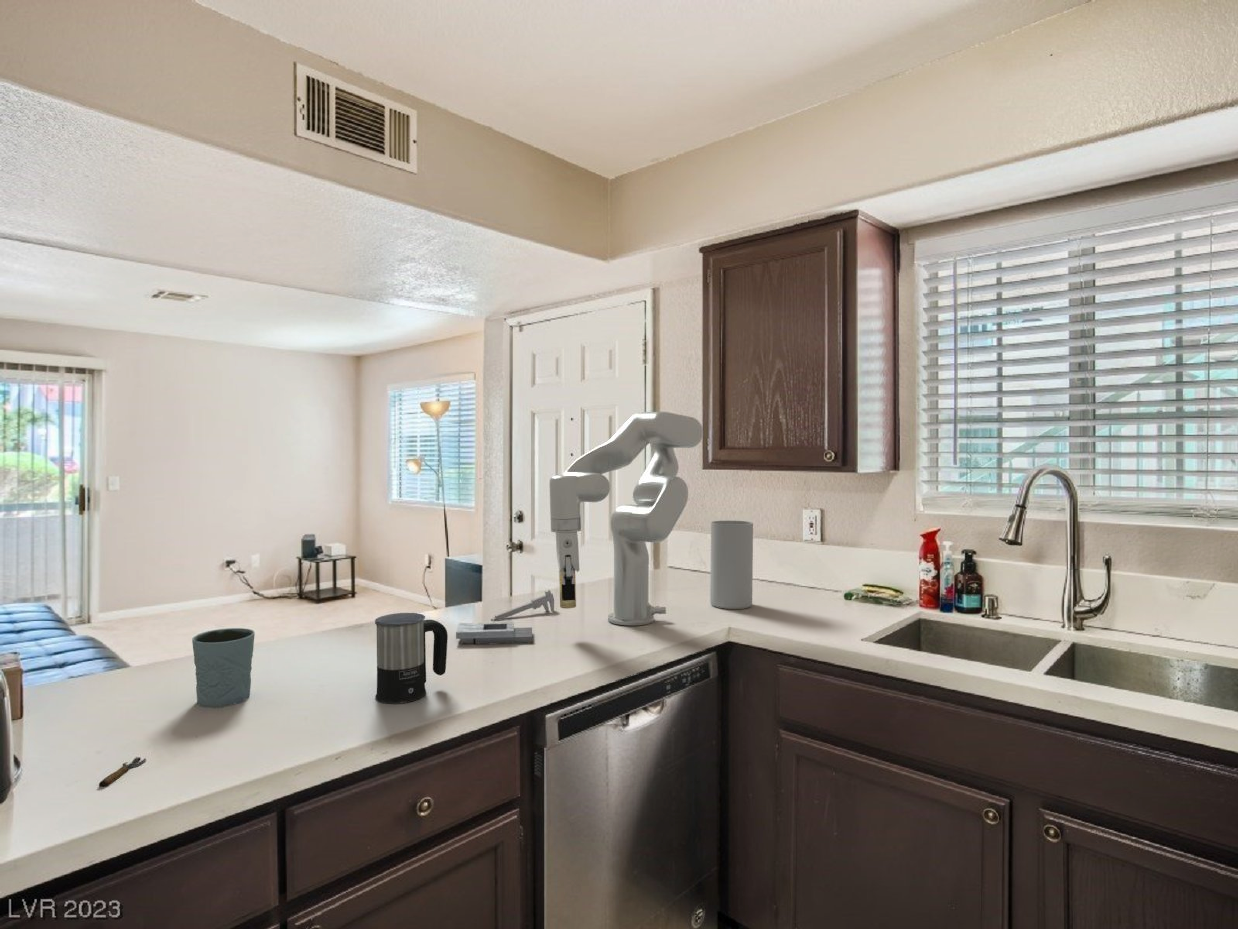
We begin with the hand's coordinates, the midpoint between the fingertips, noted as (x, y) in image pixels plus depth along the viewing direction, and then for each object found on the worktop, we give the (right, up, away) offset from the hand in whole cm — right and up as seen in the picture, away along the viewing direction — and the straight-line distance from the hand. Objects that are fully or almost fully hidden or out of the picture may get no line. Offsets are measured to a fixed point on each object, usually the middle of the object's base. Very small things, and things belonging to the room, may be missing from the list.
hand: (567, 597), depth 178 cm
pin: (0, -2, 0) cm, 2 cm away
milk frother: (-30, -11, -40) cm, 51 cm away
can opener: (-58, -11, -76) cm, 96 cm away
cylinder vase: (+47, -10, +37) cm, 60 cm away
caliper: (-14, -10, +23) cm, 28 cm away
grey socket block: (-18, -10, -3) cm, 20 cm away
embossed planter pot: (-60, -10, -46) cm, 76 cm away
